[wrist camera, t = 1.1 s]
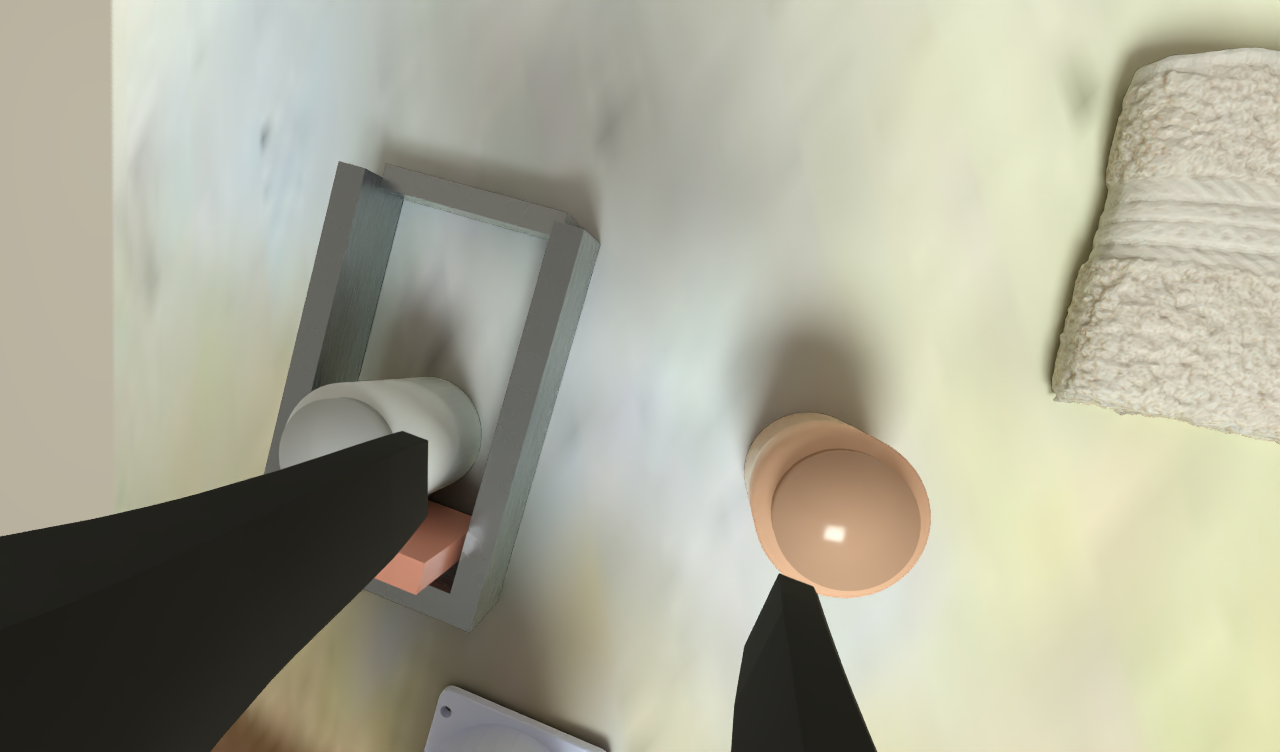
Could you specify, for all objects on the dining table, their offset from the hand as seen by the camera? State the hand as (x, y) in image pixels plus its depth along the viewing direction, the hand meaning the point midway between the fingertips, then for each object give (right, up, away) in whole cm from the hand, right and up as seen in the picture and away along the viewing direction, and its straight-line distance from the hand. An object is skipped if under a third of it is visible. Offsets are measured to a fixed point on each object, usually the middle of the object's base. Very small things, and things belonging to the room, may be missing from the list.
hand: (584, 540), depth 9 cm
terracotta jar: (+8, -1, +10) cm, 13 cm away
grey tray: (-8, +3, +12) cm, 15 cm away
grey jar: (-8, +1, +12) cm, 15 cm away
